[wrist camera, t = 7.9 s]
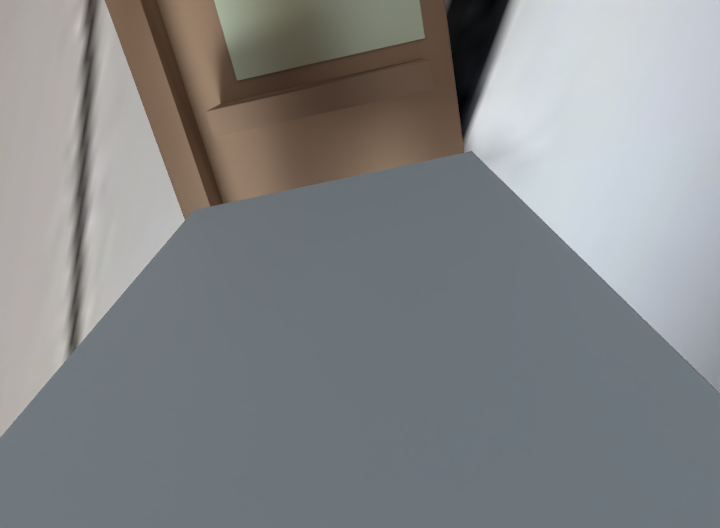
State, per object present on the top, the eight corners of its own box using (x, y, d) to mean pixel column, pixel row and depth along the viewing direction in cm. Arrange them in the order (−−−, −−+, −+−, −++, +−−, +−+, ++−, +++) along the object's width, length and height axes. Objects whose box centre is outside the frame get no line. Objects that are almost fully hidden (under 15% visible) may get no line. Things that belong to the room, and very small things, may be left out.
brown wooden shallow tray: (383, -401, 14) (392, -533, 11) (482, 339, 24) (504, 389, 20) (34, -302, 15) (-56, -397, 12) (267, 379, 24) (254, 433, 21)
